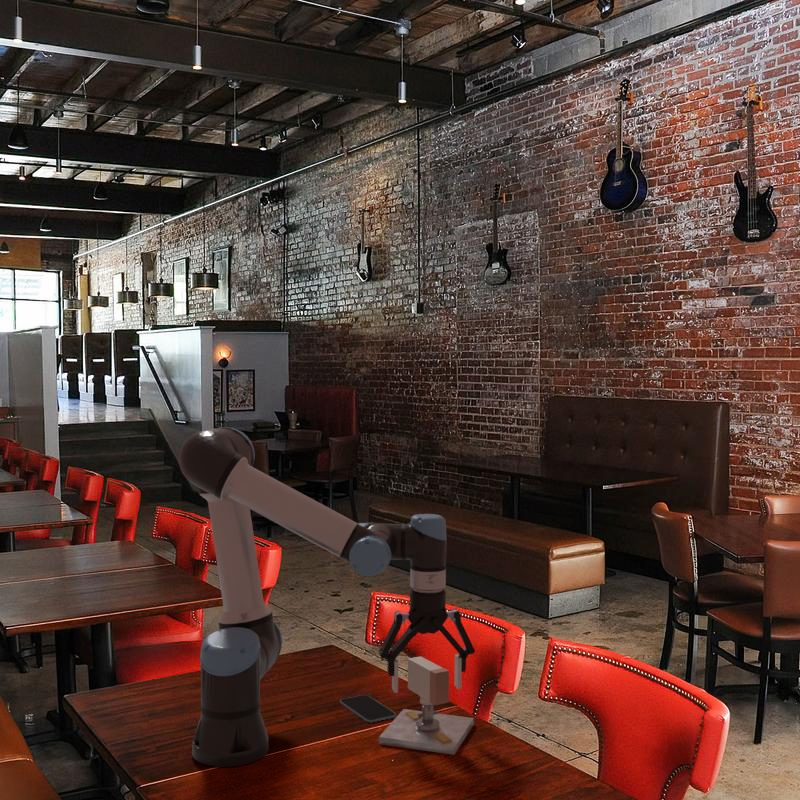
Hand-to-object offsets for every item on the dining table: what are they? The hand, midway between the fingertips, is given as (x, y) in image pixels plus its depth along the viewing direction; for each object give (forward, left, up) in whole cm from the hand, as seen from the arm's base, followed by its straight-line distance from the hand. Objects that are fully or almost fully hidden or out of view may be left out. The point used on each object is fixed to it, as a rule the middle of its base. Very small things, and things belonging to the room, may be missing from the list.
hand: (426, 688), depth 185 cm
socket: (0, 0, -10) cm, 10 cm away
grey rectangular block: (0, 0, -3) cm, 3 cm away
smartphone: (+9, +17, -10) cm, 22 cm away
